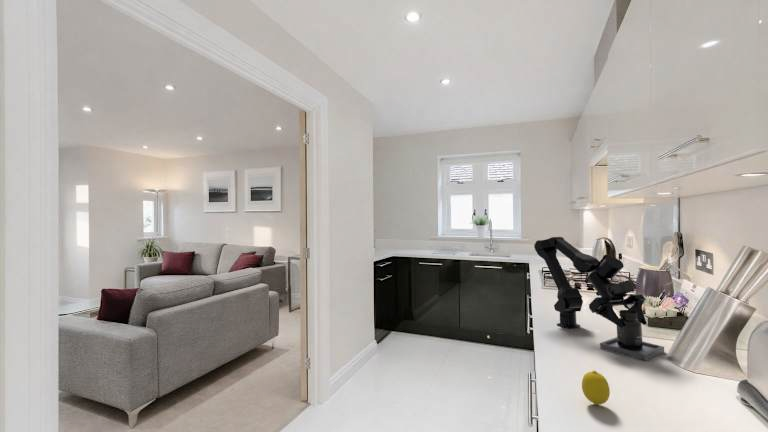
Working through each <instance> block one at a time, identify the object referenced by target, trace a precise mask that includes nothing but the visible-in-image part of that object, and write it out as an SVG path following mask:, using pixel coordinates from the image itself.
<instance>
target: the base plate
mask: <svg viewBox="0 0 768 432" xmlns="http://www.w3.org/2000/svg"><path fill="white" fill-rule="evenodd" d="M599 349H601V350H605V351H608V352H612V353H615V354H619V355H622V356H625V357H629V358H632V359H636V360H639V361H643V362H647V361H649V360H651V359H653V358H655V357H657V356H659V355H661V354H664V353H665V346H663V345H660V344H654V343H651V342H646V341H643V349H642V350H640V351H631V350H627V349H623V348H620V347H619V346H618V342H617V336H615V337H613V338H611V339H608V340H605V341H602V342H599Z"/></svg>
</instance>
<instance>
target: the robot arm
mask: <svg viewBox="0 0 768 432" xmlns="http://www.w3.org/2000/svg"><path fill="white" fill-rule="evenodd" d="M534 250H535V252H536V253H537V255H538V256H539V257H540V258H541V259H543V260H544V262H545V264H546V266H547V268H548V271H549V273H550V275H551V277H552V279H553V281H554V284H555V286H556V289H557V294H556V295H557V296H556V297H557V300H556V302H555V304H553V307H554V310H555V311H556V312H559V323H557V324H558V325H557V326H559V325H562V326H561V327H563V326H565V327H564V328H567V327H568V328H567V329H571V328H572V329H575V327H576V328H579V327H581V324H580V323H579V324H577V323H578V322H577V312H582V311H581V310H582V308H583V303H584V300H583V296H582V294H581V293H580V291H579V289H578V288H577V287H572V286H571V285H570V283H569V280H568V278H567V276H566V274H565V273H564V272H565V271H564V270H563V268H562V265H561V264H560V262H559V259H558V257H557V253H558V251H559V252H560V253H561V254H562V255H564V256H565V257H566V258H568V259H569V260H570V261H571V262H572V266H573V267H574V268H575V269H576V270H577V272H579V273H580V274H589V275H585V278H584V279H585V280H584V283H585V284H591V285H592V286H593V287H594V289H595V290H596V293H595V295H596V297H595V298H594V299H593V300H592V301H591V302H590V303H589V304H588V309H589V310H590V311H591V313H592V314H593V313H594V314H596V315H597V316H598V315H599V316H600V317H603V318H605V319H606V320H607V321H610V322H611V323H613V324H614V325H615V326H617V325H618V326H619V327H623V324H622V322H621V321H620V319H619V318H620V317H619V315H617V314H616V312H615V310H614V307H617V306H624V308H625V309H626V310H631V311H635V312H637V316H638V318H637V320H638V321H640V322H641V324H642V326H643V325H644V326H645V325H647V319H646V317H645V315H644V311H643V305H644V304H645V301H646V300H647V299H646V297H644V296H643V294H641V293H635V294H634V293H633V292H635V291H636V289H637V285H636V283H635V282H634V281H633V280H631V279H630V280H625V281H624V282H622V281H621V282H617V283H612V281H611V279H613V278H615V277H616V275H618V274H619V272H620V271H621V270H623V268H624V265H625V264H624V263H623V262H622V261H621V260H619V259H618V258H617V257H615V256H612V255H611V254H608V253H607V254H604V255H603V256H602V258H601V259H600V260H599V259H598V258H596V257H594V256H592V255H590V254H587V253H583V252H581V251H580V250H579V249H577V248H576V247H575V246H573V245H572V244H571V243H569V242H568V241H567V240H565V238H564V237H562V236H551V237H549V238H546V239H540V240H538V239H537V240H536V241H535V243H534ZM628 293H633V294H630V295H629V296H628ZM626 296H627V297H626ZM625 297H626V298H625ZM578 326H579V327H578Z"/></svg>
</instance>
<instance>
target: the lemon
mask: <svg viewBox="0 0 768 432" xmlns="http://www.w3.org/2000/svg"><path fill="white" fill-rule="evenodd" d="M581 390H582V393H583V395H584V397H585V398H586V399H587V400H588V401H589V402H590V403H593V404H594V406H599V405H603V404H606V402H607V401H609V398H610V394H611V393H610V391H611V390H610V385H609V383H608V380H607V379H606V377H605V376H604V375H603V374H601V373H599V372H598V371H596V370H592V371H588V372H586V373H585V374H584V375H583V377H582V380H581Z"/></svg>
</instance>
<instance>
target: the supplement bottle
mask: <svg viewBox="0 0 768 432" xmlns="http://www.w3.org/2000/svg"><path fill="white" fill-rule="evenodd" d="M618 313H619V314H618V318H619V319H620V321H621V322H622V324H623V327H619V326H618V325H616V337H617V342H618V346H619V347H620V348H623V349H627V350H631V351H640V350H642V349H643V342H644V341H643V327H642V326H643V324H642V323H641V322H640V321H638V320H637V318H638V316H637V312H635V311H631V310H628V309H621V310H619V311H618Z"/></svg>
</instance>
